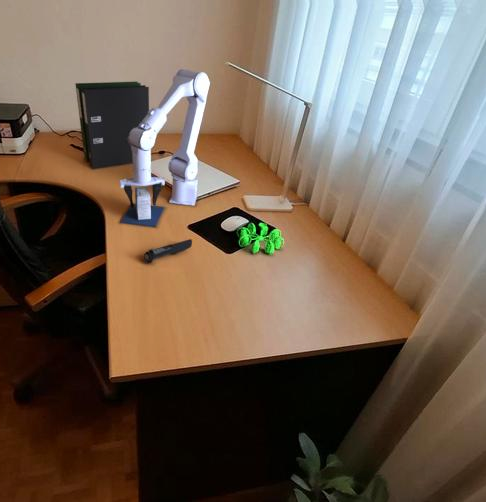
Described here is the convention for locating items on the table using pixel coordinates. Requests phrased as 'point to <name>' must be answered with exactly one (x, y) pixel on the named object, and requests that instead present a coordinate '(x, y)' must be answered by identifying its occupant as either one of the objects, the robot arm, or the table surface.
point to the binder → (110, 120)
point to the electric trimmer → (167, 250)
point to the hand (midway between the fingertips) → (143, 205)
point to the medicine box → (142, 203)
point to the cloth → (133, 219)
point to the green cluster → (260, 238)
